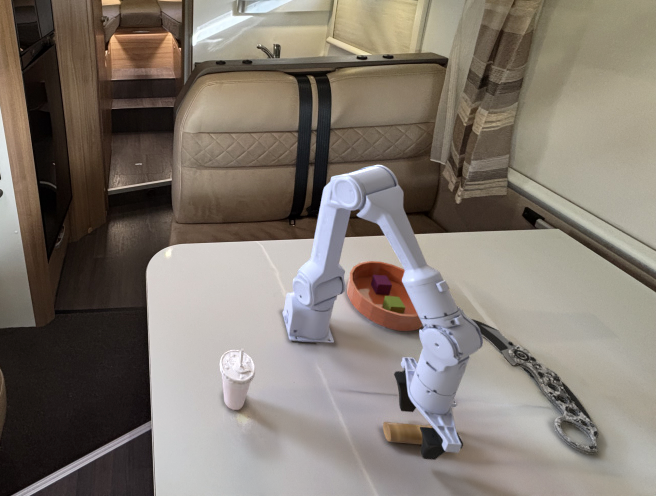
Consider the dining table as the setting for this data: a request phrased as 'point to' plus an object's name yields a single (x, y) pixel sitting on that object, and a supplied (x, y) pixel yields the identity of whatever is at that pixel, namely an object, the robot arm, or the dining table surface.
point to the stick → (403, 432)
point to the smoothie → (236, 377)
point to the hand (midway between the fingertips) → (416, 432)
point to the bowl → (381, 296)
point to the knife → (547, 388)
